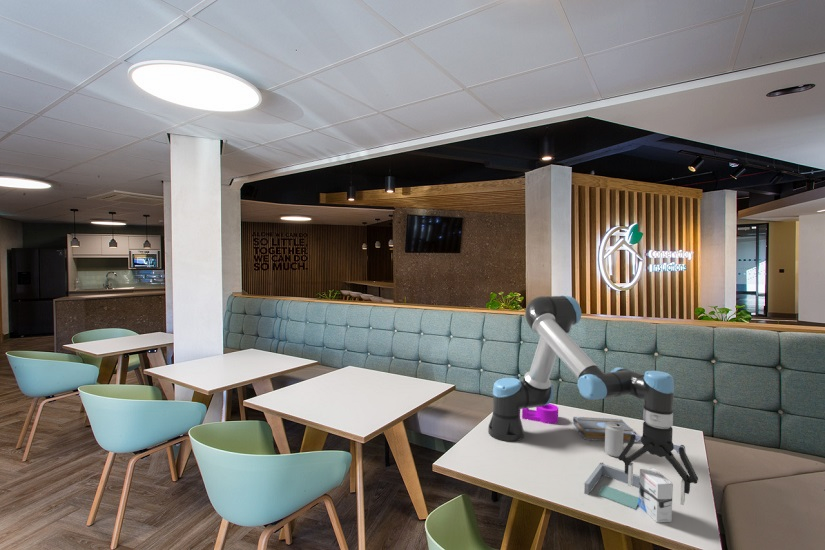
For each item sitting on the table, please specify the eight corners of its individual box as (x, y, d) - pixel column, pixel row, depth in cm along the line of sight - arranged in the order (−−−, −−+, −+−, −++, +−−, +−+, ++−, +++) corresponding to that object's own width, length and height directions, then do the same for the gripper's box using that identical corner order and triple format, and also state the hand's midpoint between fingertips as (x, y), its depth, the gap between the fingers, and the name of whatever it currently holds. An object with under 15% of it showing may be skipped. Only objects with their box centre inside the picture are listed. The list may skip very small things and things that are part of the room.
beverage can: (624, 458, 150) (626, 428, 150) (607, 456, 152) (608, 426, 151) (619, 450, 157) (620, 421, 156) (602, 449, 158) (603, 420, 157)
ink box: (637, 504, 122) (638, 468, 122) (652, 504, 123) (653, 467, 122) (656, 523, 114) (658, 483, 113) (672, 522, 114) (674, 483, 114)
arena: (584, 493, 128) (584, 482, 128) (599, 472, 141) (600, 462, 140) (639, 514, 117) (640, 503, 117) (650, 490, 130) (651, 479, 130)
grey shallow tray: (619, 427, 180) (620, 416, 180) (636, 444, 164) (637, 432, 163) (572, 424, 182) (573, 414, 182) (584, 441, 166) (585, 429, 165)
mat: (597, 494, 127) (597, 493, 127) (603, 485, 132) (603, 484, 132) (635, 509, 120) (635, 508, 120) (640, 499, 125) (640, 498, 125)
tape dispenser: (558, 417, 189) (558, 404, 189) (557, 425, 180) (558, 412, 180) (524, 412, 195) (524, 399, 195) (521, 419, 186) (522, 406, 186)
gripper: (609, 416, 122) (607, 482, 123) (708, 441, 106) (705, 517, 107) (615, 409, 128) (613, 473, 129) (710, 432, 112) (708, 504, 112)
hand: (655, 493), depth 118 cm, fingers open, 13 cm apart
